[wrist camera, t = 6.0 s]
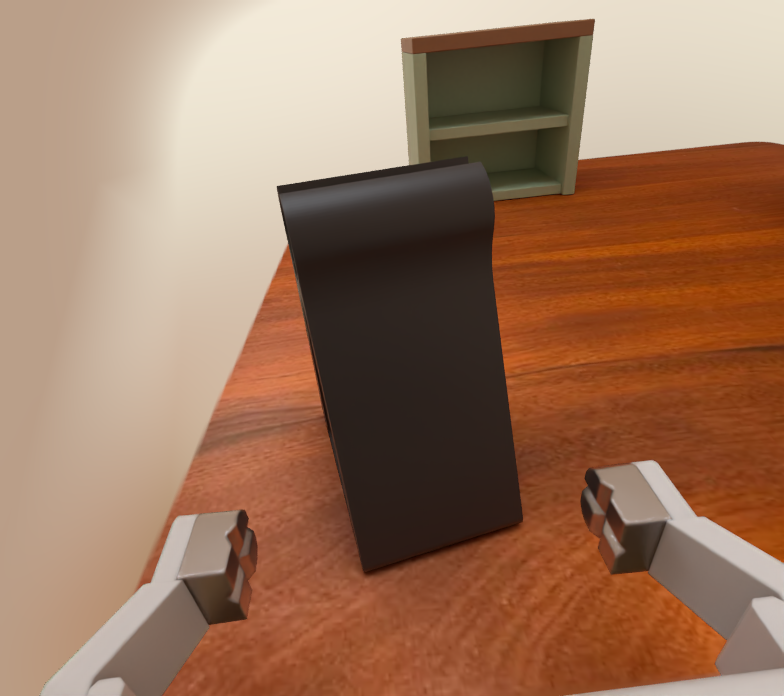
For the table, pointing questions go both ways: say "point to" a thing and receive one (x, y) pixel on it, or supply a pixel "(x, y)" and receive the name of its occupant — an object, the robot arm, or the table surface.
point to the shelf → (501, 102)
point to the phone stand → (407, 351)
